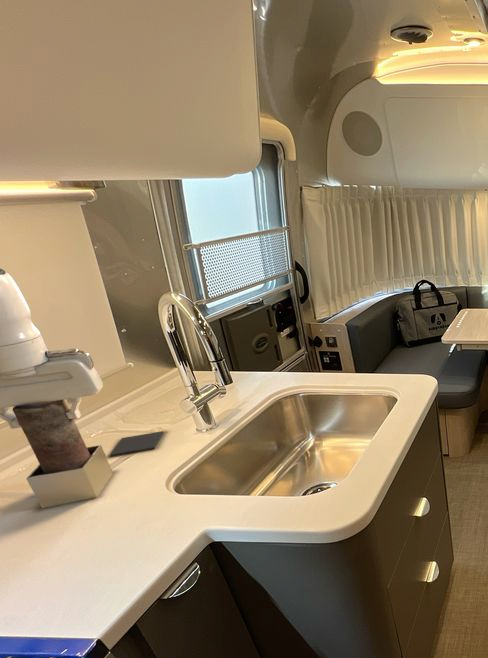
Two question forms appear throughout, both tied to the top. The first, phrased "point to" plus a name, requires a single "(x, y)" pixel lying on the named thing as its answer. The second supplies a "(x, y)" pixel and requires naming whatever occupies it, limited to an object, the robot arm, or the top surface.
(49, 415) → the candle
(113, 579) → the top surface
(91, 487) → the beige open box
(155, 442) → the mat
